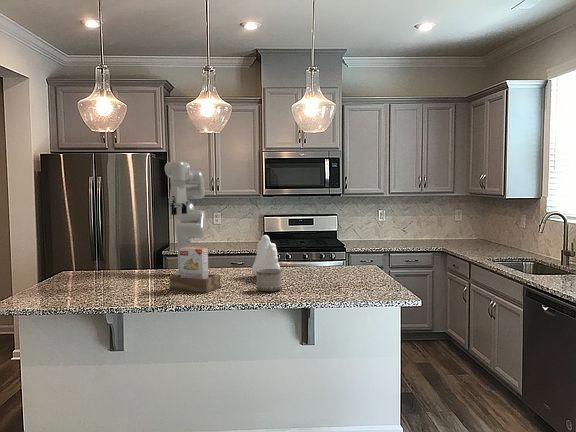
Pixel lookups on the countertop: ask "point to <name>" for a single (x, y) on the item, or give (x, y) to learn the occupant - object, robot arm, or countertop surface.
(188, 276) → the cracker box
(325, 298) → the countertop surface
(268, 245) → the white fluffy lump
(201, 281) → the walnut crate
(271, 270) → the planter
